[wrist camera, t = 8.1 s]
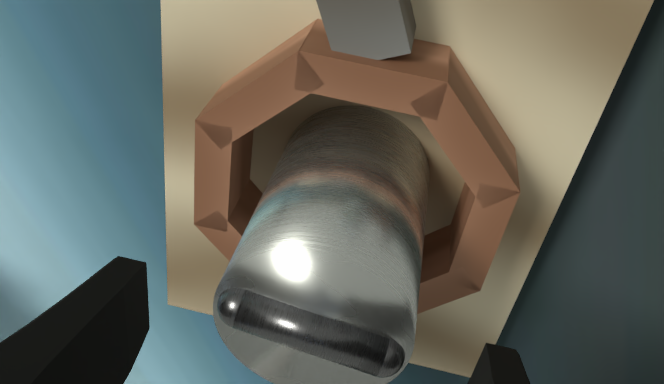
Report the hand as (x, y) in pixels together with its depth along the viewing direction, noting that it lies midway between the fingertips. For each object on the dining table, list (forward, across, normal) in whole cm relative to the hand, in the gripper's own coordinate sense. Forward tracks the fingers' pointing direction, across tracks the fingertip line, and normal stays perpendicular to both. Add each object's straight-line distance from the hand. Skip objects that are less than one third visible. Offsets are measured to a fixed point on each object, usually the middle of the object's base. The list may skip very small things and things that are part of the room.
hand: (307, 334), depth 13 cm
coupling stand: (+8, 0, 0) cm, 8 cm away
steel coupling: (+7, 0, 0) cm, 7 cm away
